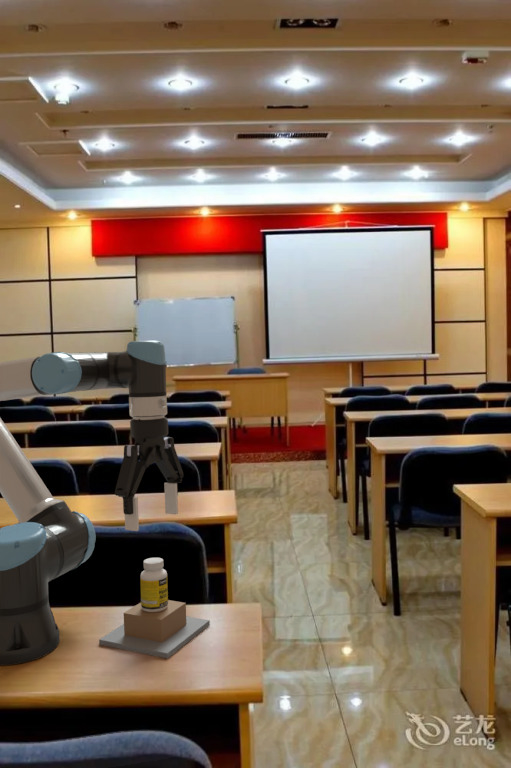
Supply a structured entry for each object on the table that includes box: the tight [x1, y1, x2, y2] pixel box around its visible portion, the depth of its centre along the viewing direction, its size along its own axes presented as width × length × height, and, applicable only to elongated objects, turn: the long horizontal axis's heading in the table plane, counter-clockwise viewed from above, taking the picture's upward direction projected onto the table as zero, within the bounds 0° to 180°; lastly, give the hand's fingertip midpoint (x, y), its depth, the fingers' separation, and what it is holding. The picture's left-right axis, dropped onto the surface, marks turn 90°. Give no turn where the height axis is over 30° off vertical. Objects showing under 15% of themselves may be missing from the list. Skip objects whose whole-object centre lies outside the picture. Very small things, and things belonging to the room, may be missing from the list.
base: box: [98, 599, 211, 660], centre depth 130 cm, size 16×16×6 cm
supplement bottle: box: [139, 557, 169, 612], centre depth 129 cm, size 5×5×10 cm
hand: (152, 521), depth 129 cm, fingers open, 13 cm apart
